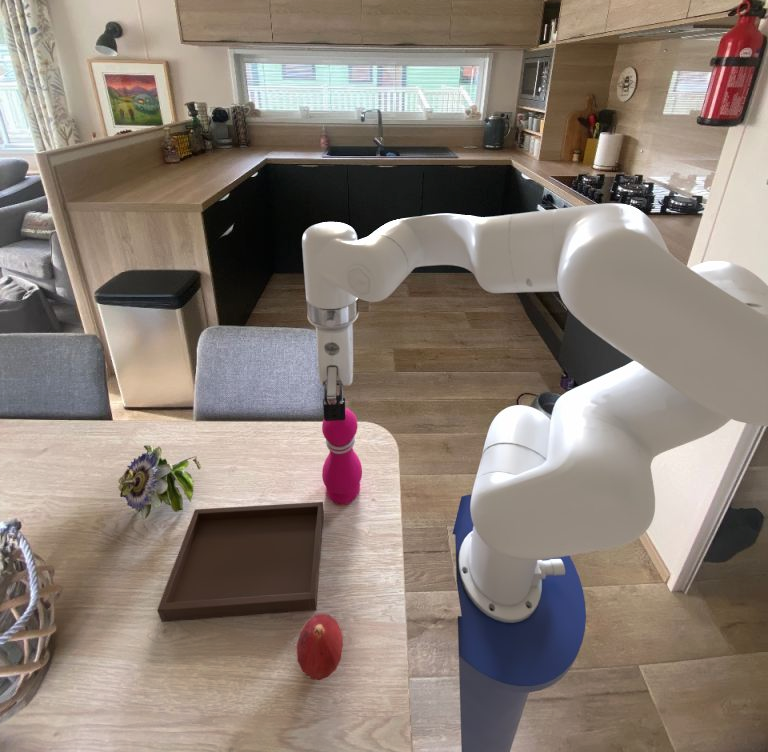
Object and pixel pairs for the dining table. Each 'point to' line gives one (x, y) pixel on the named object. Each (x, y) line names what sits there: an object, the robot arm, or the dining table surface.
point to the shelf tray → (246, 563)
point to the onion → (319, 647)
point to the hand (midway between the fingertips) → (336, 394)
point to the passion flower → (155, 482)
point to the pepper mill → (341, 460)
